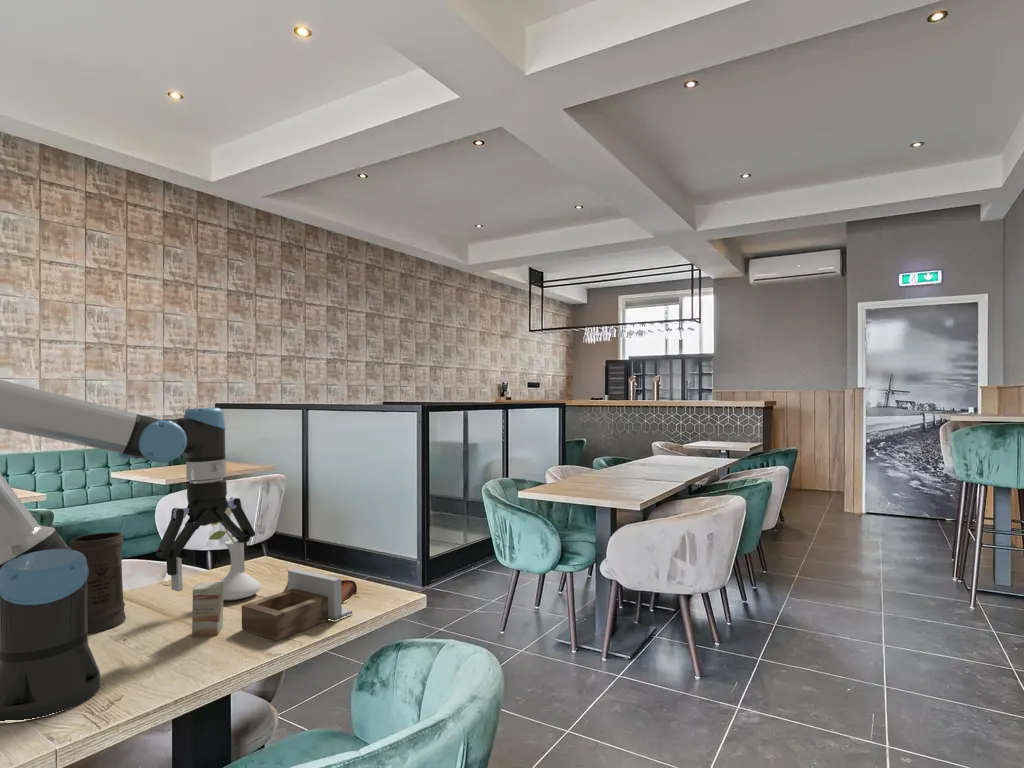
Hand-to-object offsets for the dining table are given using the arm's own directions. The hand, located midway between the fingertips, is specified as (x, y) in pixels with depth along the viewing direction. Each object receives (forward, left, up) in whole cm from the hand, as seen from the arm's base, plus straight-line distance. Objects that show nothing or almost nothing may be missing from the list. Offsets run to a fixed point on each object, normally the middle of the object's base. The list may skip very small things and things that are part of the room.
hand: (209, 580), depth 126 cm
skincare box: (0, 0, -11) cm, 11 cm away
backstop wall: (+20, -11, -11) cm, 25 cm away
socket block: (+11, -11, -11) cm, 19 cm away
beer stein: (-10, +29, -11) cm, 33 cm away
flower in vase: (+16, +17, -11) cm, 26 cm away
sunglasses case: (+26, -2, -12) cm, 28 cm away
